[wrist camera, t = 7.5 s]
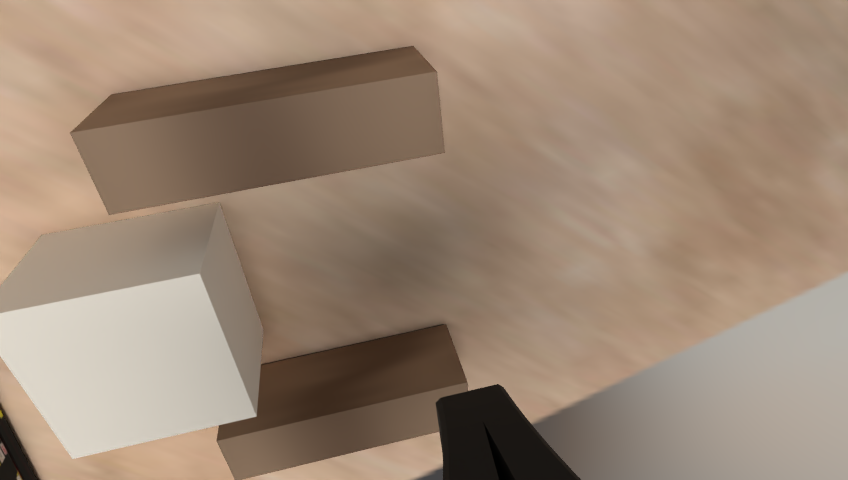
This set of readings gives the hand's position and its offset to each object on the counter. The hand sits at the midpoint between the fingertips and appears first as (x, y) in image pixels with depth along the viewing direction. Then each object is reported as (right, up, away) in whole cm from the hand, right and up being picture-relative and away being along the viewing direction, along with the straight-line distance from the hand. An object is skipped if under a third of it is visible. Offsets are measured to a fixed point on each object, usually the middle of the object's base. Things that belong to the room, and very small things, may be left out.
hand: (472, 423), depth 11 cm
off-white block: (-9, +2, +6) cm, 11 cm away
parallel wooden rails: (-4, +3, +6) cm, 8 cm away
